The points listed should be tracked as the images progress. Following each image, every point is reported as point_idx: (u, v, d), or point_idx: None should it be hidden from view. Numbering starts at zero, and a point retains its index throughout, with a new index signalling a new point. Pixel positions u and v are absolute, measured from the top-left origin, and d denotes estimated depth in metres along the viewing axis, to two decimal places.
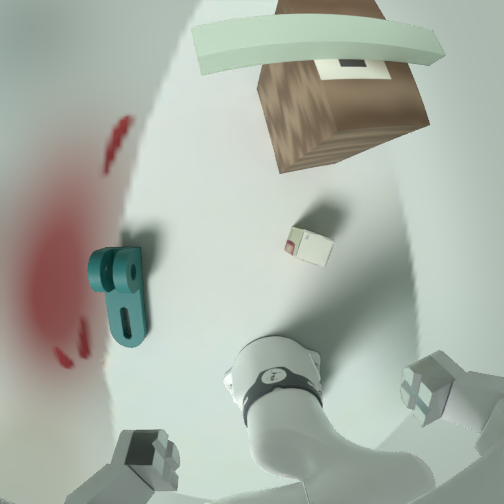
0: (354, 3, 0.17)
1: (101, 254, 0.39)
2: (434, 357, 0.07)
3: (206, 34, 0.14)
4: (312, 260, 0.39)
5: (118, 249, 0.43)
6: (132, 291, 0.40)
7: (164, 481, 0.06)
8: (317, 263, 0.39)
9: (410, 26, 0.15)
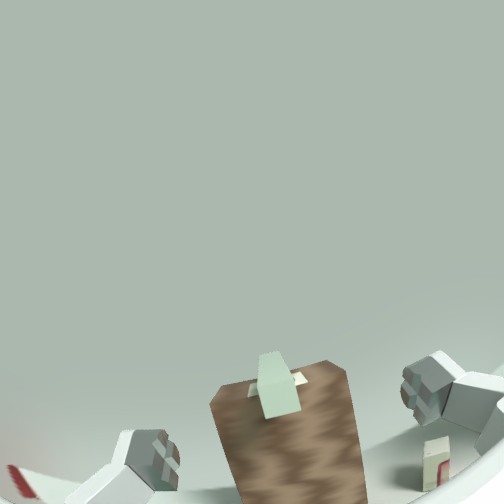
0: (232, 387, 0.35)
1: None
2: (433, 357, 0.07)
3: (270, 381, 0.21)
4: (447, 442, 0.25)
5: None
6: None
7: (164, 481, 0.06)
8: (447, 439, 0.25)
9: (260, 357, 0.39)
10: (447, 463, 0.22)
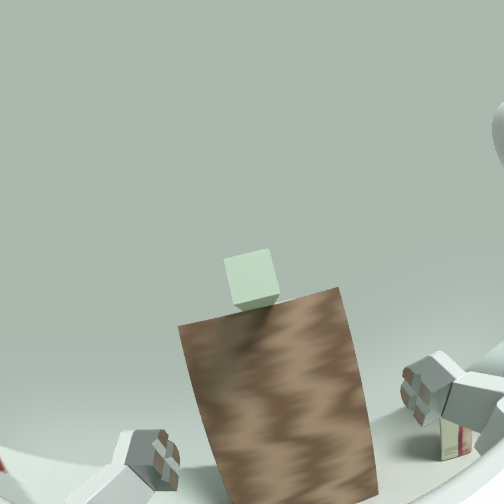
0: None
1: None
2: (434, 357, 0.07)
3: None
4: None
5: None
6: None
7: (164, 481, 0.06)
8: None
9: None
10: None
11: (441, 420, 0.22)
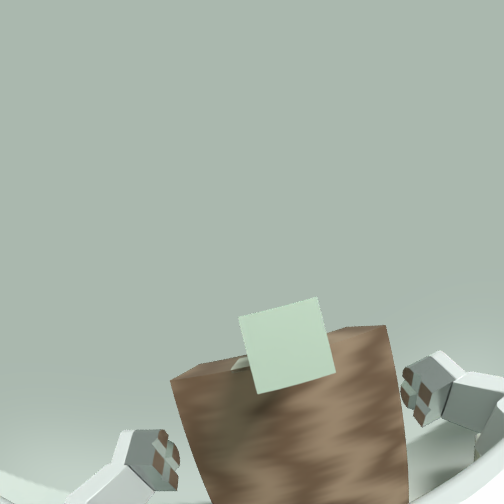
0: (212, 364, 0.25)
1: None
2: (433, 357, 0.07)
3: None
4: None
5: None
6: None
7: (164, 481, 0.06)
8: None
9: None
10: None
11: None
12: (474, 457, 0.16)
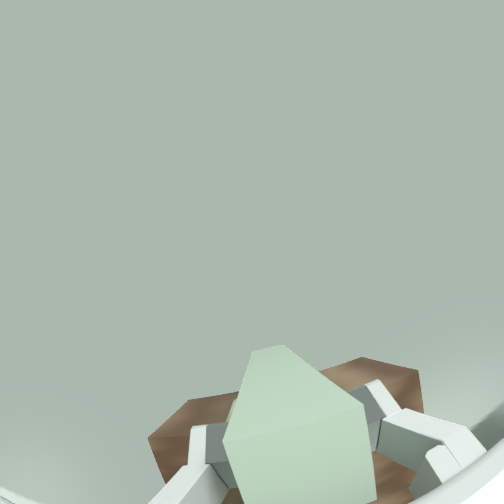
0: (202, 405, 0.19)
1: None
2: (368, 387, 0.07)
3: (273, 417, 0.06)
4: None
5: None
6: None
7: None
8: None
9: (253, 354, 0.23)
10: None
11: None
12: None
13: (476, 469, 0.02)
